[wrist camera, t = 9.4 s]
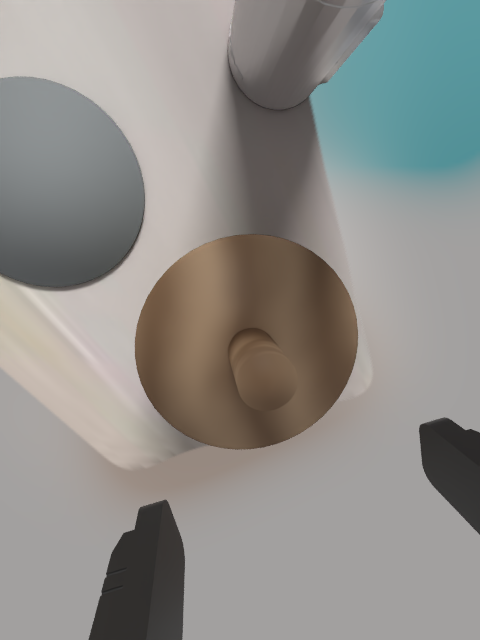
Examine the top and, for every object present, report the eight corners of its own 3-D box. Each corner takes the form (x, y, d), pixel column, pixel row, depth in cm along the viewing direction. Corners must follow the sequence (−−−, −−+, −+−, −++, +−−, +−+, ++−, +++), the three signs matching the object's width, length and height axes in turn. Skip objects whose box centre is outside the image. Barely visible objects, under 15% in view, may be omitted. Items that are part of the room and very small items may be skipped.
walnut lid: (333, 207, 23) (384, 196, 17) (366, 408, 28) (417, 457, 22) (102, 270, 22) (65, 281, 16) (176, 468, 27) (171, 539, 20)
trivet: (109, 60, 28) (108, 58, 28) (167, 262, 33) (166, 262, 33) (-106, 101, 27) (-110, 99, 26) (-13, 305, 32) (-15, 306, 31)
